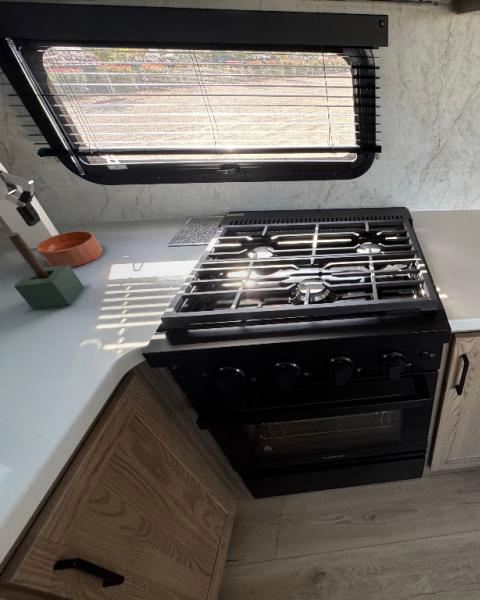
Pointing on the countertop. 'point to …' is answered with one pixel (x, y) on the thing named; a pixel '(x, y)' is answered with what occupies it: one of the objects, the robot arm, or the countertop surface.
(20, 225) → the milk carton
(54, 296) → the holder
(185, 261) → the countertop surface
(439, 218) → the countertop surface
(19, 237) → the stick
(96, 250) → the bowl
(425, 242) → the countertop surface
